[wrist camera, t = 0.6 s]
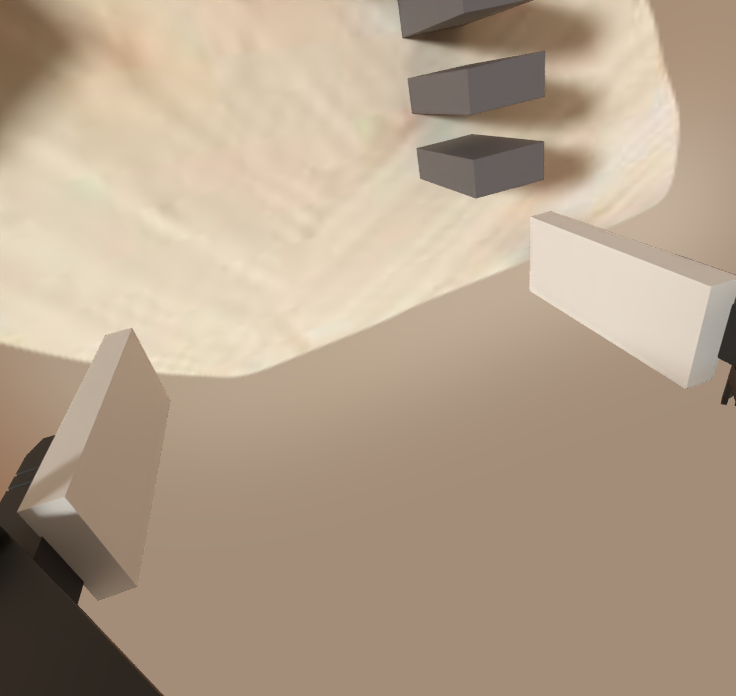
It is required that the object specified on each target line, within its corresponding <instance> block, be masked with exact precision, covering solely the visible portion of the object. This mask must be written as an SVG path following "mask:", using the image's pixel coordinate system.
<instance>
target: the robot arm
mask: <svg viewBox="0 0 736 696" xmlns="http://www.w3.org/2000/svg"><path fill="white" fill-rule="evenodd" d="M530 291H531V292H533V293H534V294H536V295H538V296H539V297H541V298H542V299H544V300H545V301H547V302H548V303H550V304H552V305H553V306H555V307H556V308H558V309H560V310H561V311H563V312H565V313H566V314H567V315H569V316H571V317H572V318H574V319H575V320H577V321H579V322H580V323H582V324H583V325H585V326H587V327H588V328H590V329H591V330H593V331H595V332H596V333H598V334H600V335H601V336H602V337H604V338H606V339H607V340H609V341H610V342H612V343H614V344H615V345H617V346H618V347H620V348H621V349H623V350H625V351H626V352H628V353H630V354H631V355H633V356H634V357H636V358H637V359H639V360H641V361H642V362H644V363H645V364H647V365H648V366H650V367H652V368H653V369H655V370H657V371H658V372H660V373H661V374H663V375H664V376H666V377H668V378H669V379H671V380H672V381H674V382H676V383H677V384H679V385H680V386H682V387H683V388H685V389H688V388H691V387H693V386H696V385H699V384H702V383H704V382H707V381H710V380H712V379H713V375H714V372H715V368H716V365H717V361H718V358H720V359H721V360H723V361H725V362H728V363H729V364H731V365H732V367H731V370H730V373H729V376H728V379H727V383H726V386H725V390H724V393H723V396H722V400H721V404H724V405H726V404H727V402H728V399H729V398H731V397H732V396H734V399H735V402H736V275H735V274H731V273H729V272H726V271H723V270H720V269H717V268H714V267H711V266H708V265H706V264H703V263H700V262H696V261H694V260H691V259H688V258H685V257H683V256H680V255H677V254H673V253H670V252H667V251H664V250H662V249H658V248H656V247H653V246H650V245H647V244H644V243H641V242H638V241H635V240H633V239H630V238H626V237H624V236H621V235H618V234H615V233H612V232H609V231H607V230H604V229H601V228H598V227H595V226H592V225H589V224H586V223H583V222H581V221H578V220H575V219H572V218H569V217H566V216H563V215H560V214H557V213H554V212H552V211H550V212H546V213H543V214H539V215H535V216H532V217H531V219H530ZM169 405H170V399H169V397H168V395H167V393H166V391H165V389H164V387H163V386H162V383H161V382H160V380H159V378H158V376H157V374H156V372H155V370H154V368H153V366H152V364H151V363H150V361H149V359H148V357H147V355H146V353H145V351H144V349H143V347H142V346H141V344H140V342H139V340H138V338H137V336H136V334H135V332H134V331H133V329H132V328H130V329H126V330H123V331H119V332H116V333H112V334H108V335H105V337H104V339H103V341H102V343H101V345H100V347H99V349H98V351H97V353H96V355H95V357H94V359H93V361H92V363H91V365H90V367H89V369H88V371H87V373H86V375H85V377H84V379H83V381H82V383H81V385H80V387H79V389H78V391H77V393H76V395H75V397H74V399H73V401H72V403H71V405H70V407H69V409H68V411H67V413H66V415H65V417H64V419H63V421H62V423H61V425H60V427H59V429H58V431H57V433H56V435H53V436H50V437H47V438H44V439H42V440H41V441H40V442H39V443H38V444H37V445H36V446H35V447H34V449H33V450H31V451H30V453H28V454H27V455H26V457H25V458H24V460H23V462H22V464H21V466H20V468H19V469H18V471H17V473H16V474H17V476H16V477H14V479H13V480H12V482H11V484H10V486H9V491H6V493H5V495H4V497H3V498H2V500H1V502H0V696H164V695H163V694H162V693H161V692H160V691H159V690H158V689H157V688H156V687H155V686H154V685H153V684H152V683H151V682H150V681H149V680H148V679H147V678H146V677H145V675H144V674H143V673H142V672H141V671H140V670H139V669H138V668H137V667H136V666H135V665H134V664H133V663H132V662H131V661H130V660H129V659H128V657H127V656H126V655H125V654H124V653H123V652H122V651H121V650H120V649H119V648H118V647H117V646H116V645H115V644H114V643H113V642H112V641H111V640H110V639H109V637H108V636H107V635H106V634H105V633H104V632H103V631H102V630H101V629H100V628H99V627H98V626H97V625H96V624H95V623H94V622H93V621H92V619H91V618H90V617H89V616H88V615H87V614H86V613H85V612H84V611H83V610H82V609H81V608H80V607H79V606H78V605H77V604H78V601H79V597H80V594H81V591H82V587H83V585H84V586H85V587H86V588H87V589H88V590H89V591H90V592H91V593H92V595H93V596H94V597H95V598H96V599H97V600H98V601H99V600H102V599H105V598H107V597H110V596H113V595H116V594H118V593H121V592H124V591H127V590H130V589H132V588H135V587H137V585H138V580H139V574H140V569H141V563H142V557H143V552H144V546H145V540H146V534H147V529H148V524H149V518H150V512H151V506H152V501H153V495H154V489H155V484H156V479H157V473H158V467H159V462H160V456H161V450H162V444H163V439H164V433H165V428H166V422H167V417H168V410H169ZM735 406H736V403H735Z"/></svg>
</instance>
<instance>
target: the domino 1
mask: <svg viewBox="0 0 736 696" xmlns="http://www.w3.org/2000/svg"><path fill="white" fill-rule="evenodd" d="M530 1H532V0H398V6H399V14H400V22H401V30H402V38H405V37H410V36H414V35H419V34H424V33H428V32H433V31H437V30H442V29H447V28H451V27H456V26H460V25H465V24H468V23H471V22H473V21H476V20H479V19H482V18H485V17H487V16H490V15H493V14H496V13H499V12H501V11H504V10H507V9H510V8H513V7H516V6H518V5H521V4H524V3H527V2H530Z"/></svg>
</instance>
